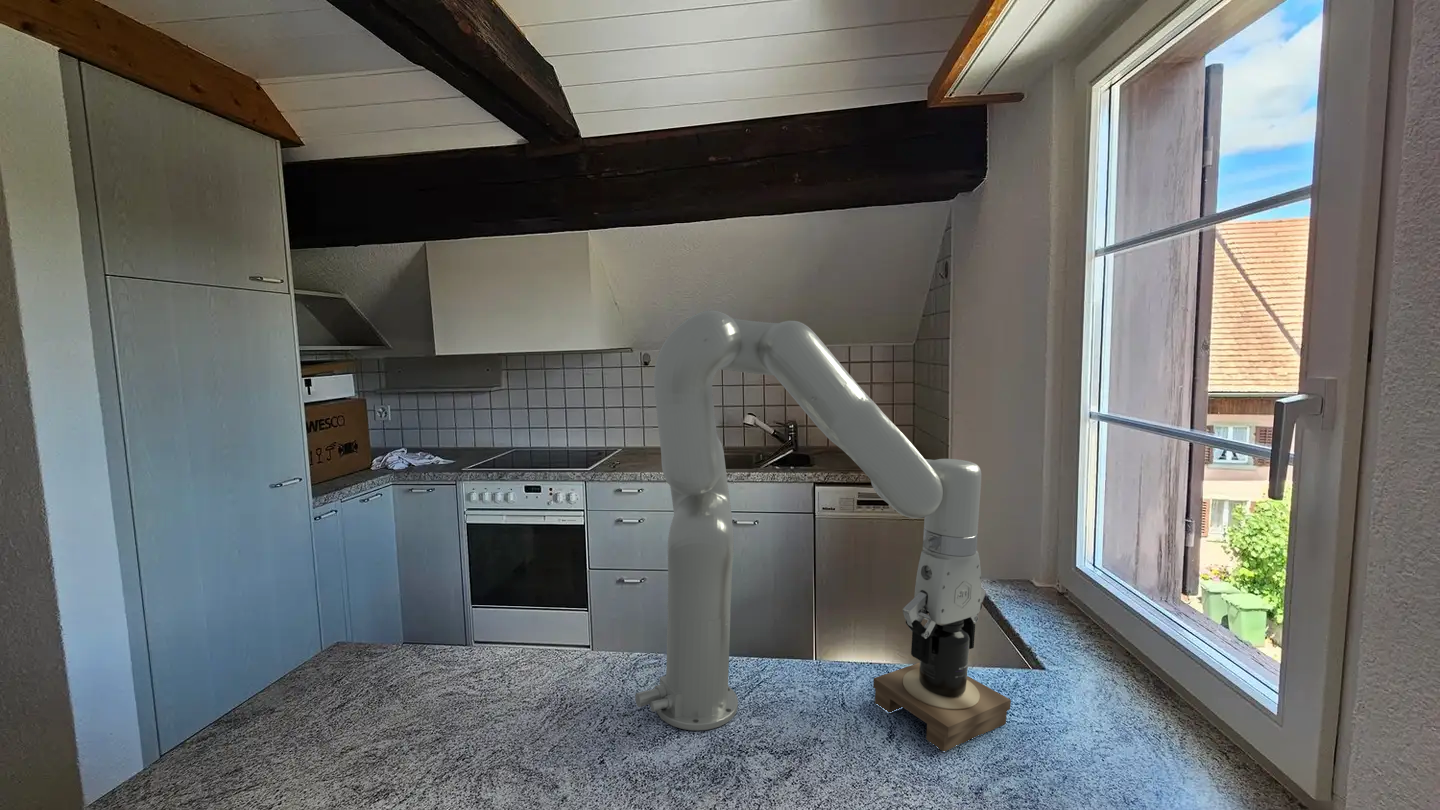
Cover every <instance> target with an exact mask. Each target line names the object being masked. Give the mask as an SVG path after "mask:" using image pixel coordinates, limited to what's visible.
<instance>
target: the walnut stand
mask: <svg viewBox="0 0 1440 810" xmlns="http://www.w3.org/2000/svg"><path fill="white" fill-rule="evenodd" d="M919 669H920V661H919V662H916V663H914V664H911V665H908V666H905V667H903V668H902V667H901V668H899V669H897V670H894V671H891V672H888V673H885V674H881V675H879V676H876V677H873V680H872V681H873V685H872V686H873V687H872V688H873V689H875V693H874V704H875V703H876V704H878V705H879V706H881V707H882V708H884V709H885V710H887V711H888V712H892V711H894V710H896V709H899V708H901V707H903V708H904V710H906V711H908V712H909V713H910V714H911V715H913V716H915V717H916V718H918V719H919V720H921V721H922V722H924V723H925V724H926V737H925V738H926V739H927V740H928V741H929V742H931V743H932V744H934V745H935V746H937V747H938V748H939V749H940V750H942V751H947V750H949V749H951V748H953V747H955V746H956V745H959V744H961V743H964V742H966V741H968V740H970V739H972V738H974V737H976V736H978V735H981V734H983V735H985V734H987V733H989V732H991V731H993V730H996V729H998V728H999V727H1002V726H1004V725H1006V724H1007V716H1008V715H1007V712H1008V711H1010V710H1011V706H1012V705H1011V703H1012V702H1011V701H1012V700H1011V699H1010V698H1009V697H1007V696H1004V695H1003V694H1001V693H999V692H998V691H996V690H994V689H992V688H990V687H988V686H987V685H984V684H983V683H981V682H979V681H978V680H976V679H974V678H972V677H970V676H968V675H967V682H966V690H965V692H964V693H963V694H962V695H960V696H956V697H945V696H940V695H937V694H934V693H932V692H930V691H928V690H927V689H925V688H924V687H923V686H922V684H921V683H920V680H919ZM995 728H996V729H995ZM988 731H989V732H988ZM986 732H987V733H986ZM984 733H985V734H984ZM981 736H982V735H981ZM976 738H977V737H976ZM974 739H975V738H974ZM972 740H973V739H972ZM928 741H927V742H928ZM970 741H971V740H970ZM929 742H928V743H929ZM968 742H969V741H968ZM966 743H967V742H966ZM932 744H931V745H932ZM964 744H965V743H964ZM935 746H934V747H935ZM959 746H960V745H959ZM955 748H956V747H955ZM939 749H938V750H939ZM953 749H954V748H953ZM940 750H939V751H940ZM951 750H952V749H951ZM942 751H941V752H942ZM949 751H950V750H949ZM947 752H948V751H947Z"/></svg>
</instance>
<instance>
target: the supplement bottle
mask: <svg viewBox="0 0 1440 810" xmlns="http://www.w3.org/2000/svg"><path fill="white" fill-rule="evenodd" d="M925 625H926V623H925V624H924V625H923V627H925ZM963 626H964V620H961V621H957V622H954V623H951V624H947V625H938V624H935V626H934V628H933V630H932V632H931V633H930V635H929V637H931V638H932V652H931V663H929V664H925V663H924V662H922V661H920V660H919V662H920V669H919V680H920V683H921V684H922V686H923V687H924V688H925V689H927V690H928V691H930V692H932V693H934V694H937V695H940V696H945V697H956V696H960V695H962V694H963V693H964V692H965V690H966V682H967V676H968V667H969V655H970V654H969V653H970V649H969V641H970V638H969V635H968V633H967V631H966V630H965V629H964V628H963Z"/></svg>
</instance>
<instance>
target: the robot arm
mask: <svg viewBox="0 0 1440 810" xmlns="http://www.w3.org/2000/svg"><path fill="white" fill-rule="evenodd" d="M719 370H722V371H730V372H731V371H732V372H737V373H746V374H756V375H766V376H773V377H775V379H776V380H777V382H779V383H780V384H781V386H782V387H783V388H784V389H785V390H786V391H787V392H788V393H789V395H790V396H791V397H792V399H794V400H795V402H796V404H797V405H798V406H799V407H800V408H801V409H802V410H803V412H804V413H805V414H806V415H807V416H808V417H809V418H810V420H811V421H812V422H813V423H814V425H815V426H816V427H817V428H818V429H819V430H820V431H821V432H822V433H823V434H824V436H825V437H826V438H827V439H828V440H829V441H830V442H832V443H833V444H834V445H836V446H837V447H838V448H839V449H840V450H842V451H843V452H844V453H845V454H846V455H847V456H848V457H849V458H850V459H851V460H852V461H853V462H854V463H855V464H856V465H857V466H858V467H859V468H860V469H861V471H863V472H864V474H865V475H866V476H867V477H868V479H869V480H870V483H871V487H872V488H873V490H874V493H876V494H877V495H878V497H880V499H881V500H883V501H884V502H885V503H886V504H887V505H889V506H890V507H891V508H892V509H893V510H895V512H897V513H898V514H899V515H901V516H904V517H906V518H910V519H922V518H924V521H923V522H924V523H923V539H922V540H923V541H922V550H921V553H920V557H919V561H918V566H917V572H916V578H915V587H914V597H913V598H912V599H911V600H910V601H909V602H908V603H907V604H906V605H905V606H904V607H903V608H902V613H903V616H904V619H905V624H906V626H907V627H908V629H909V630H910V632H911V636H912V637H911V646H910V648H911V649H910V650H911V651H910V655H911V656H912V657H913V658H915V659H916V660H918V661H919V662H920V661H922V662H924V663H925V664H929V663H931V652H932V638H931V637H929V635H930V633H931V632H932V630H933V628H934V626H935V624H938V625H947V624H951V623H954V622H957V621H961V620H964V626H963V628H964V629H965V630H966V631H967V633H968V635H969V638H970V641H969V650H972V649H974V648H975V637H976V636H975V634H976V633H975V632H976V623H978V621H979V616H978V615H979V613H980V611H981V610H982V608H983V605H982V603H983V601H984V598H985V597H986V594H987V593H986V592H987V591H986V590H985V589H983V588H982V569H981V560H980V559H981V558H980V554H979V551H978V537H979V535H978V534H979V533H978V531H979V520H980V519H979V517H980V504H981V503H980V502H981V490H982V489H981V488H982V471H981V468H980V466H979V465H978V464H977V463H975V462H972V461H969V460H963V459H957V458H939V459H938V458H937V459H928V458H927V459H926V458H924V456H923V455H922V454H921V453H920V451H919V450H918V449H917V448H916V447H915V445H914V444H913V443H912V442H911V441H910V439H908V437H907V436H906V435H905V434H904V433H903V432H902V431H901V430H900V429H899V428H898V427H897V426H896V424H894V423H893V421H892V420H890V418H889V417H888V416H887V415H886V414H885V413H884V412H883V411H882V410H881V408H880V407H879V406H878V405H877V404H876V403H875V401H874V400H873V399H872V398H870V397H869V395H868V394H867V393H866V392H865V391H864V390H863V388H862V387H861V386H860V385H859V384H858V382H857V381H856V380H855V379H854V378H853V377H852V376H851V375H850V373H849V372H848V370H846V368H845V367H844V366H843V365H842V363H840V361H839V360H838V359H837V357H835V356H834V353H832V352H831V350H830V349H829V348H828V347H827V345H826V344H825V343H824V342H823V341H822V340H821V338H819V336H818V335H817V334H816V333H815V332H814V331H813V329H811V328H810V327H809V326H808V325H807V324H805V323H803V322H801V321H798V320H785V321H781V322H765V321H757V320H756V321H754V320H748V319H742V318H741V319H739V318H733V317H731V316H730V315H728V314H727V313H724V312H723V311H719V310H714V309H713V310H711V309H710V310H705V311H700V312H698V313H696V314H694V315H691V316H690V317H688V318H687V319H686V320H684V321H683V322H682V323H680V324H679V325H678V326H677V327H676V328H675V329H674V330H672V332H671V333H670V334H669V335H668V336H667V338H666V339H665V340H664V343H663V344H662V346H661V348H660V350H659V352H658V354H657V356H656V361H655V366H654V372H653V387H654V389H653V390H654V397H655V407H656V421H657V427H658V428H657V429H658V436H659V445H660V446H659V447H660V453H661V454H660V455H661V456H660V457H661V470H662V473H663V477H664V478H665V481H666V483H667V484H668V485H669V486H670V487H669V488H670V494H671V501H672V508H673V517H672V520H671V524H670V527H669V531H668V537H667V629H666V630H667V631H666V632H667V633H666V669H665V671H666V672H665V675H663V676H660V677H659V684H658V685H655V686H654V688H652V689H649V690H648V689H647V690H644V691H641V692H637V693H635V697H634V698H635V703H636V706H637V707H638V708H641V707H644V706H648V705H649V706H650V710H651V712H652V713H654V712H656V713H657V715H658V717H659V718H660V719H661V720H663V722H665V723H667V724H668V725H670V726H671V727H674V728H678V729H682V730H687V731H698V732H699V731H707V730H712V729H716V728H718V727H719V728H720V727H721V726H723V725H725V724H727V723H728V722H730V721H731V720H732V719H733V718H734V717H735V716H736V714H737V711H738V706H739V705H738V703H739V701H738V700H739V699H738V696H737V693H736V692H735V691H734V690H733V689H732V688H731V687H730V686H729V668H730V667H729V666H730V665H729V664H730V639H731V638H730V637H731V636H730V635H731V631H730V630H731V609H732V608H731V605H732V602H731V601H732V581H733V580H732V579H733V578H732V576H733V564H734V563H733V562H734V550H735V549H734V547H735V543H734V542H735V541H734V540H735V539H734V537H735V536H734V535H735V534H734V524H733V523H734V522H733V515H732V514H733V513H732V506H731V500H730V493H729V485H728V484H729V483H728V477H727V469H726V468H727V467H726V460H725V452H724V447H723V444H722V442H721V440H720V437H719V436H718V432H717V423H716V416H715V415H716V414H715V405H714V397H713V396H714V395H713V382H714V378H715V376H716V374H717V372H718V371H719ZM923 620H925V621H926V623H925V624H926V625H925V624H924V625H925V627H923V626H924V625H923V624H922V622H923Z"/></svg>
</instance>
